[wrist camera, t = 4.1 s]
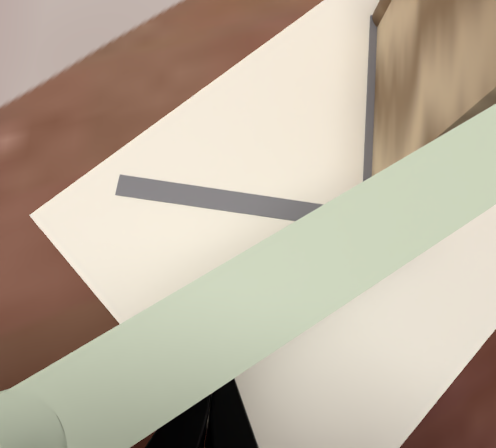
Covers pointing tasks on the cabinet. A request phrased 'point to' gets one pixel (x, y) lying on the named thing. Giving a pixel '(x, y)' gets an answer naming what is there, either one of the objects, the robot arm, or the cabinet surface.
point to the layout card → (276, 218)
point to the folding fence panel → (254, 301)
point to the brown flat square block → (430, 71)
